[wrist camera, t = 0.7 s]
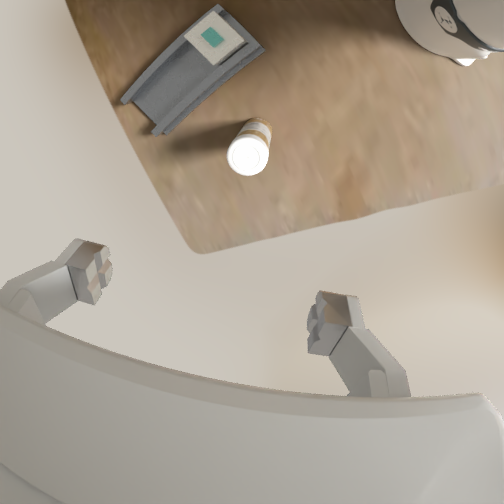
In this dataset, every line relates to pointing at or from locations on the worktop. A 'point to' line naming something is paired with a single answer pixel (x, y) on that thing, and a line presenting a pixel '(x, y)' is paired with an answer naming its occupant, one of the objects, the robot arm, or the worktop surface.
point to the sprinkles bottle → (250, 147)
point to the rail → (192, 69)
